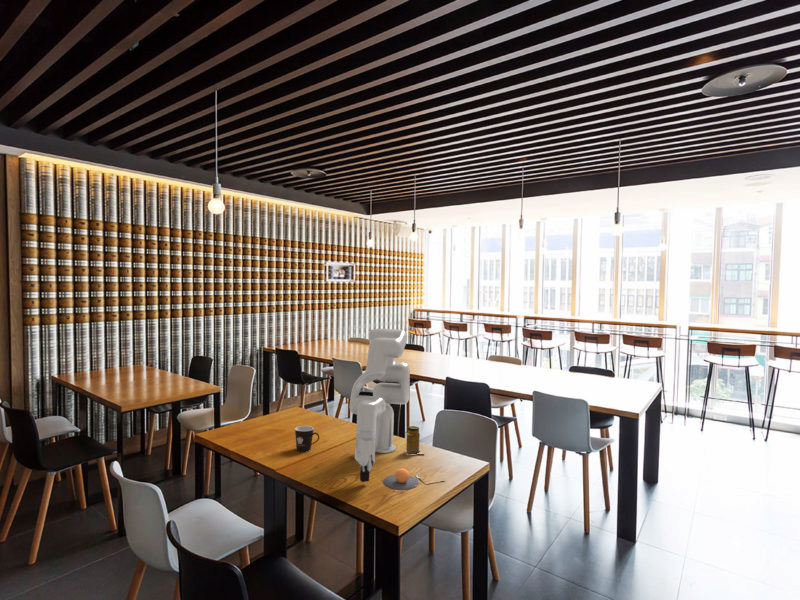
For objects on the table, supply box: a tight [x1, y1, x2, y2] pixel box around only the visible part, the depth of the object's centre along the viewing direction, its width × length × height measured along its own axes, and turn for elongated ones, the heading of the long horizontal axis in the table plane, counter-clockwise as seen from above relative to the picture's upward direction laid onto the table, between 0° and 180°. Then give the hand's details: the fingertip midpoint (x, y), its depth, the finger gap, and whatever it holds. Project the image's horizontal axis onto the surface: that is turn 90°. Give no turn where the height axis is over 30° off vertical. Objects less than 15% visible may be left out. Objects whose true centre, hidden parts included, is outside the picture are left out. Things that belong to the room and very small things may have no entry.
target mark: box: [383, 474, 420, 491], centre depth 170 cm, size 14×14×1 cm
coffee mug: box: [294, 425, 320, 453], centre depth 202 cm, size 12×9×10 cm
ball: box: [394, 467, 410, 483], centre depth 170 cm, size 6×6×6 cm
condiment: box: [404, 425, 420, 456], centre depth 204 cm, size 7×8×12 cm
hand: (364, 480), depth 167 cm, fingers closed
